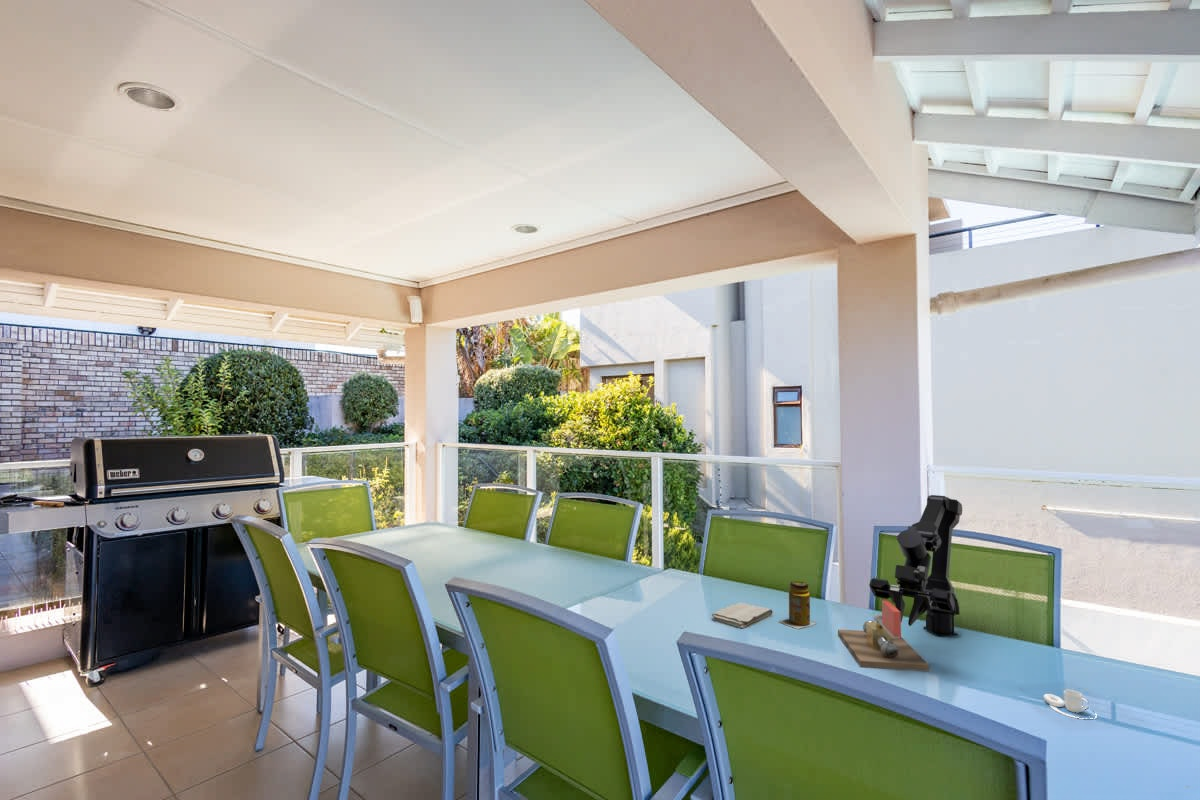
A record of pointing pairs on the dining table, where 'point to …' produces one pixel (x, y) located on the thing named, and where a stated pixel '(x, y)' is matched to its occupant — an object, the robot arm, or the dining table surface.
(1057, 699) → the teacup and saucer
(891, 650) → the ball valve
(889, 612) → the valve lever
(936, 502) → the robot arm
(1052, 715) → the dining table surface
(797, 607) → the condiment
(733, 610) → the washcloth
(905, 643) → the mounting board
